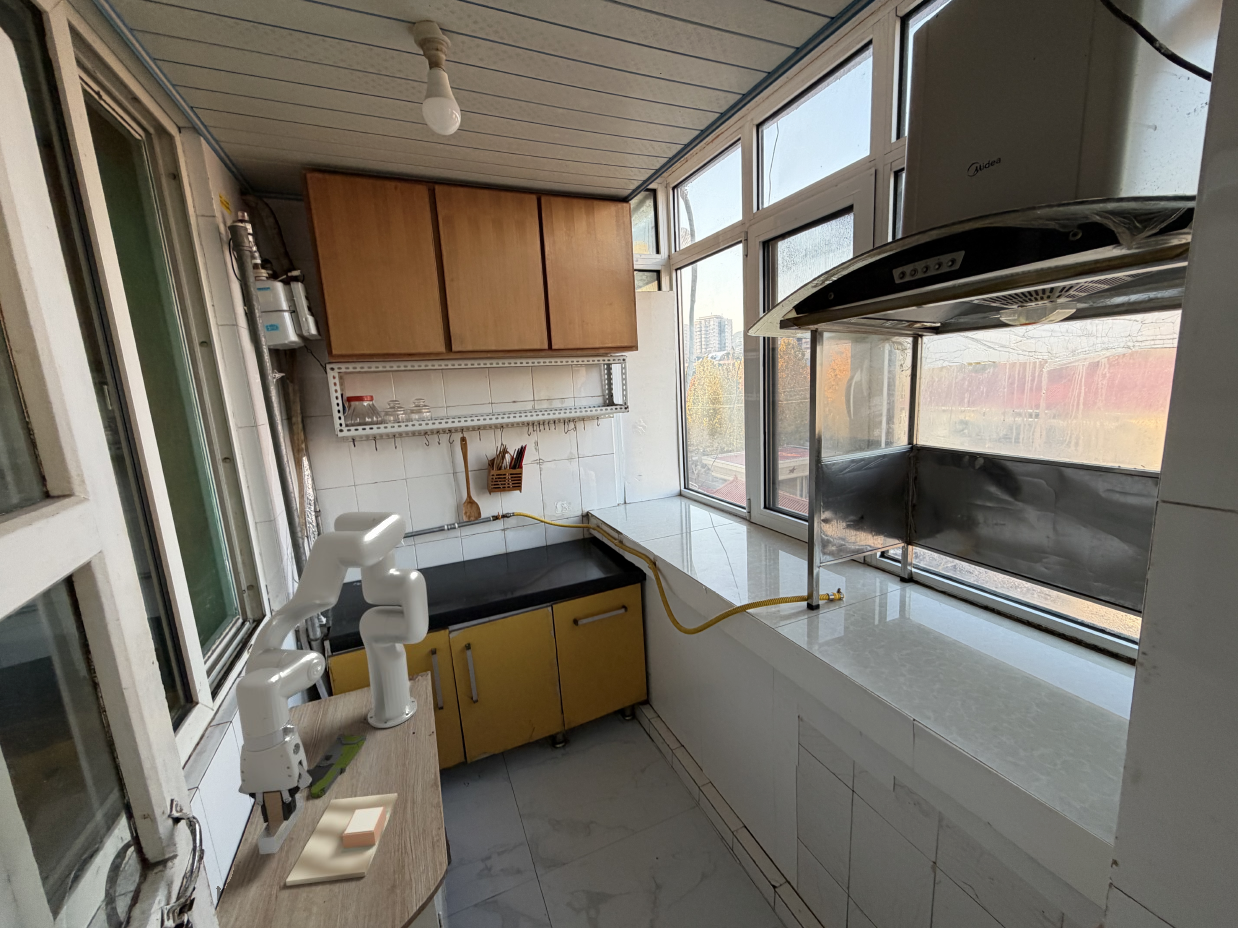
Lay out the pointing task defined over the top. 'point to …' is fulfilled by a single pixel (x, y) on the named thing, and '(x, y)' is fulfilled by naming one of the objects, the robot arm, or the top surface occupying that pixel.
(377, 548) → the robot arm
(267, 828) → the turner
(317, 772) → the gun
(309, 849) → the board
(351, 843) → the tile
